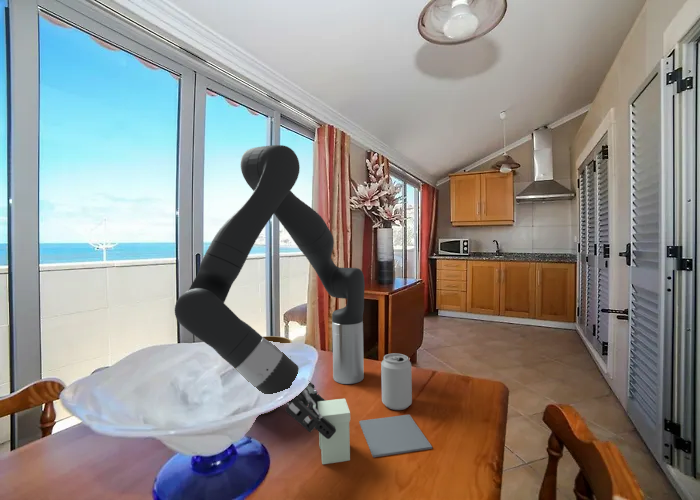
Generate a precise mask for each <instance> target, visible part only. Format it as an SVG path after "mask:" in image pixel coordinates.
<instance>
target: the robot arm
mask: <svg viewBox="0 0 700 500" xmlns="http://www.w3.org/2000/svg"><path fill="white" fill-rule="evenodd" d="M300 168H301V167H300V160H299V158H298V155H297V154H296V152H295V151H294V150H293V149H292V148H291V147H289V146H286V145H284V144H282V145H281V144H280V145H279V144H275V145H274V144H272V145H263V146H256V147H251V148H250V149H247V150H246V151H245V152H243V154H242V155H241V159H240V171H241V173H242V177H243V179H244V181H246V185H248V186H249V187H250V188H251V190H252V191H253V192H252V193H251V195H250V197H249V198H248V199H247V200H246V202H244V204H243V205H241V207H240V208H238V210H237V211H236V212H235V213H234V214H233V215H232V216H230V217H229V218H228V219H227V220H226V221H225V223H224V224H223V225H222V226H221V227H220V228H219V230H218V231H217V232H216V234H215V235H214V237H213V239H212V240H211V242H210V245H209V246H208V248H207V250H206V252H205V254H204V256H203V258H202V259H201V261H200V265H199V269H198V272H197V275H196V276H195V277H194V280H193V281H192V283H191V285H190V286H189V288H188V290H186V291H184V292H183V294H181V295H180V296H179V297H178V298H177V300H176V302H175V305H174V315H175V316H174V317H175V318H176V320H177V322H178V323H179V324H180V325H181V326H182V327H183V329H186V330H187V331H188V332H189V333H191V334H192V335H193V336H195V337H196V338H197V339H199V340H200V341H202V342H203V343H205V344H206V345H208V346H209V347H211V348H212V349H213V350H214V351H215V352H216V353H217V354H218V355H219V356H220V357H221V358H222V359H223V360H225V361H226V362H227V363H228V364H230V365H231V367H232V368H233V367H234V368H235V369H236V370H237V371H238V372H239V373H240V374H241V375H242V376H243V377H244V378H245V379H246V380H247V381H248V382H250V383H251V384H252V385H253V386H254V387H256V388H257V389H258V390H259V391H261V392H262V393H264V394H273V393H277V392H280V391H283V390H285V389H288V388H290V386H291V385H292V382H293V381H294V380H295V378H296V376H297V374H298V372H299V370H300V369H299V365H298V364H297V363H296V362H294V361H293V360H292V359H291V358H290V359H289V358H288V357H287V356H286V355H285V354H284V353H283V352H281V351H280V350H279V349H278V348H277V347H276V346H275V345H273V344H272V343H271V342H269V341H268V340H266V339H265V338H263V335H261V334H260V333H259V332H258V331H256V329H254V328H253V327H252V326H250V324H248V323H246V322H245V321H244V320H242V319H241V318H239V317H238V316H237V315H236V314H235V312H233V311H232V310H231V308H230V307H228V305H226V303H225V302H226V300H227V297H228V295H229V292H230V289H231V287H232V286H233V283H234V282H235V281H236V280H237V278H238V276H239V274H240V273H241V272H242V271H241V270H242V269H243V267H244V265H245V263H246V260H248V259H247V258H248V257H249V255H250V253H251V251H252V248H254V245H255V243H256V241H257V240H258V238H259V236H260V235H261V233H262V231H263V230H264V228H265V227H266V225H267V224H268V223H269V221H270V219H271V218H272V217H273V216H275V217H276V218H277V220H278V221H279V222H280V224H281V225H282V227H283V228H284V229H285V230H286V231H287V233H288V234H289V236H290V237H291V239H292V240H293V242H294V243H295V245H296V246H297V248H298V249H299V250H300V251H301V253H302V254H303V255H304V256H305V258H306V259H307V260H308V262H309V263H310V265H311V267H312V268H313V270H314V271H315V273H316V275H317V276H318V278H319V280H320V282H321V283H322V284H321V285H323V287H324V289H325V290H326V292H327V294H329V296H331V297H333V298H336V299H346V306H344V307H341V308H339V309H336V310H334V311H333V312H332V314H331V322H332V323H331V328H332V331H331V332H332V379H333V380H334V381H335V382H336V383H338V384H343V385H352V384H357V383H359V382H362V381H363V379H364V378H365V375H364V371H365V370H364V365H365V364H364V323H363V322H364V321H363V320H364V319H363V318H364V310H365V288H366V287H365V275H364V273H363V271H362V269H360V268H358V267H339V266H337V265H336V264H335V262H334V261H333V259H332V254H333V250H334V244H335V241H334V236H333V234H332V232H331V230H330V228H329V227H328V224H327V223H326V222H325V220H324V219H323V216H321V215H320V214H319V213H318V212H317V210H315V209H313V208H312V207H311V206H309V205H308V204H307V203H305V202H304V201H303V200H301V199H300V198H299V197H297V195H295V194H294V193H293V192H292V189H293V187H294V186H295V185H296V182H297V180H298V178H299V175H300ZM309 382H310V383H309V384H308V386H307V387H306V388H305V389H304V390H303V391H302V392H301V393H300V394H299V395H298V396H296V397H295V398H294V399H292V400H291V401H289V402H287V403H286V404H287V406H286V407H285V409H284V410H285V412H286V413H287V414H288V415H290V416H291V417H292V418H293V419H294V420H295V421H296V422H297V423H298V424H300V425H301V426H302V427H303V428H304V429H305V430H306V431H307V432H308V433H311V432H313V430H314V429H315V430H316V431H317V432H318V433H319V432H320V433H321V434H322V435H323V436H324V437H326V438H327V439H330V438H331V437H332V436H333V434H334V433H335V432H336V429H335V427H334V426H333V425H332V424H331V423H330V422H329V421H327V420H326V419H325V418H324V417H323V416H321V414H320V413H319V412H318V401H326V399H324V398H323V397H322V396H321V395H320V394H318V390H317V389H316V387H315V384H313V383H312V382H311V381H309ZM310 418H311V419H310Z"/></svg>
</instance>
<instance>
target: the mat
mask: <svg viewBox="0 0 700 500" xmlns="http://www.w3.org/2000/svg"><path fill="white" fill-rule="evenodd" d="M359 426H360V428H361V431H362V433H363V436H364V438H365V441H366V443H367V446H368V448H369V451H370V453H371V455H372V458H378V457H385V456H391V455H399V454H405V453H413V452H419V451H426V450H432V449H433V446H432V444H431V443H430V442H429V440H428V438H427V436H425V435H424V433H423V432H422V430H421V429H420V427H419V426H418V425H417V423H416V422H415V420H414V419H413V417H412V416H411V414H403V415H395V416H386V417H379V418H371V419H365V420H364V419H362V420H359Z"/></svg>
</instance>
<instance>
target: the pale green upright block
mask: <svg viewBox="0 0 700 500" xmlns="http://www.w3.org/2000/svg"><path fill="white" fill-rule="evenodd" d="M318 412H319V413H320V414H321V416H323V417H324V418H325V419H326V420H327V421H329V422H330V423H331V424H332V425H333V426H334V427H335V429H336V432H335V433H334V434H333V436H332V437H331V438H330V439H327V438H326V437H324V436H323V435H322V434H321V433H320V432H318V435H319V436H318V438H319V439H318V440H319V445H318V446H319V449H320V451H321V464H322V465H329V464H334V463H342V462H347V461H351V443H350V441H351V440H350V422H351V411H350V409H349V405H348V403H347V400H346V398H337V399H329V400H327V399H326V400H325V401H318Z"/></svg>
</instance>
